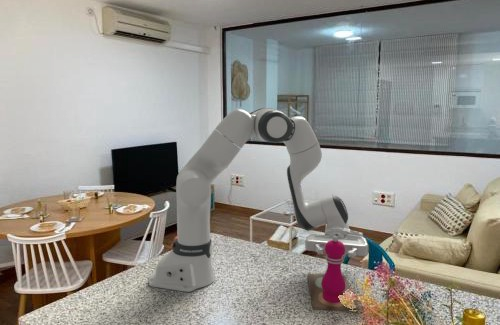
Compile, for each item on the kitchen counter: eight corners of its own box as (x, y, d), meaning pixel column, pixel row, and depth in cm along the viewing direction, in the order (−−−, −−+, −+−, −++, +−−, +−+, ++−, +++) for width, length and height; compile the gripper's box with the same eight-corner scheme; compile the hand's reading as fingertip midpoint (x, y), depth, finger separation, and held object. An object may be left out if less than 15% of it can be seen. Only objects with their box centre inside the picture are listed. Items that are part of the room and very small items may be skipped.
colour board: (312, 309, 111) (312, 305, 110) (307, 276, 132) (307, 272, 132) (357, 312, 110) (357, 308, 109) (344, 278, 131) (344, 274, 131)
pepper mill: (345, 305, 111) (348, 241, 108) (320, 302, 112) (323, 239, 109) (344, 293, 118) (347, 233, 115) (321, 291, 119) (323, 231, 116)
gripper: (307, 227, 132) (302, 241, 119) (367, 232, 127) (369, 247, 113) (306, 244, 133) (301, 260, 120) (366, 250, 128) (368, 267, 114)
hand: (335, 254), depth 117 cm, fingers open, 8 cm apart
